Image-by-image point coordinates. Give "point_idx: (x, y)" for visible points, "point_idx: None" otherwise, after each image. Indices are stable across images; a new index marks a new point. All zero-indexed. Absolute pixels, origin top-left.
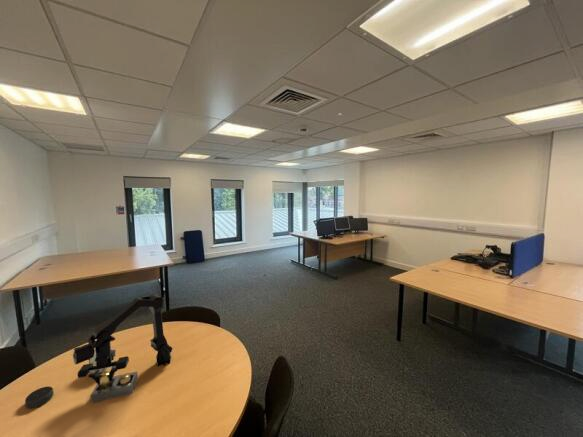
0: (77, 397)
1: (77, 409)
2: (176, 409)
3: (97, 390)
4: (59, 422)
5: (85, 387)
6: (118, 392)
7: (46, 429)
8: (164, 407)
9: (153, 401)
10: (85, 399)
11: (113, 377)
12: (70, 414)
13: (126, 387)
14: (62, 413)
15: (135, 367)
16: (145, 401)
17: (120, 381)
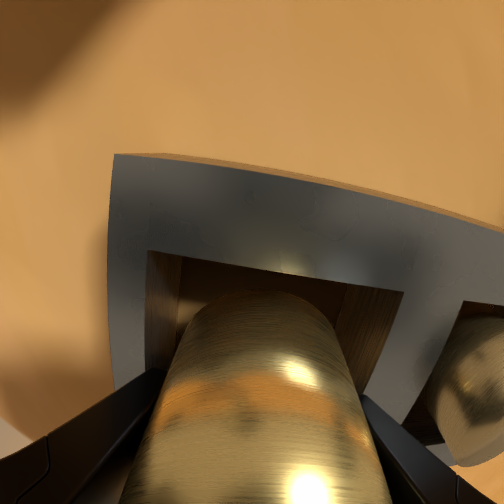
0: (6, 229)
1: (74, 387)
2: (497, 492)
3: (157, 358)
4: (38, 421)
5: (28, 91)
6: None
7: (12, 422)
8: (486, 488)
9: (484, 468)
10: (76, 303)
11: (378, 235)
12: (56, 403)
13: (448, 461)
14: (6, 361)
15: (501, 18)
16: (466, 467)
17: (445, 441)
